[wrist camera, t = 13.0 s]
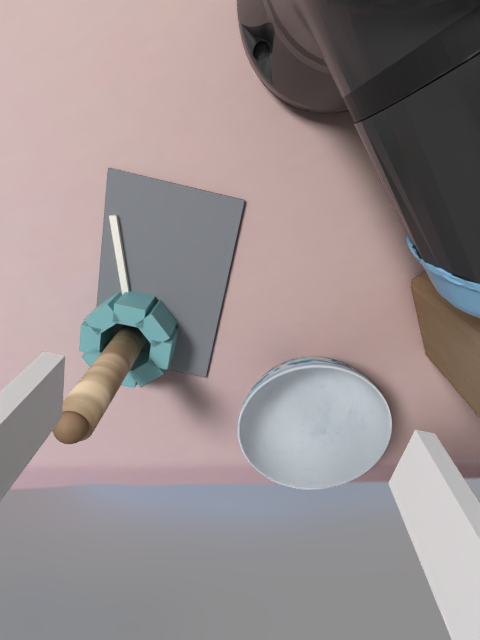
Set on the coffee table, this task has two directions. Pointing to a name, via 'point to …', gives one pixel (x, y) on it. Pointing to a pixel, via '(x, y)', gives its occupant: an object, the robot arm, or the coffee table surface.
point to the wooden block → (449, 339)
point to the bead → (138, 314)
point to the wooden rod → (98, 386)
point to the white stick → (119, 253)
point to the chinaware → (314, 424)
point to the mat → (172, 256)
